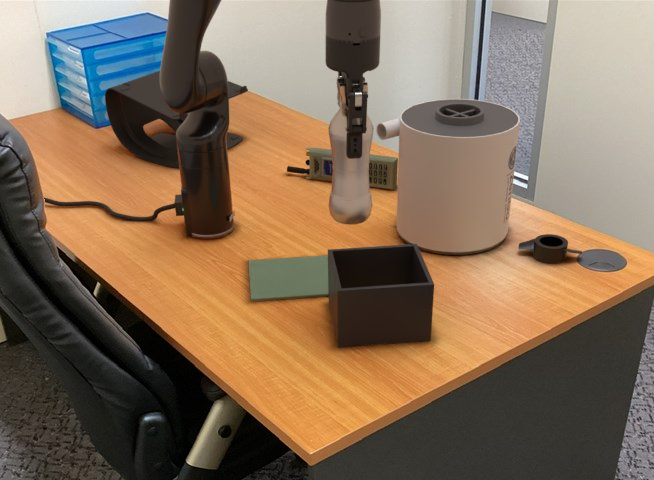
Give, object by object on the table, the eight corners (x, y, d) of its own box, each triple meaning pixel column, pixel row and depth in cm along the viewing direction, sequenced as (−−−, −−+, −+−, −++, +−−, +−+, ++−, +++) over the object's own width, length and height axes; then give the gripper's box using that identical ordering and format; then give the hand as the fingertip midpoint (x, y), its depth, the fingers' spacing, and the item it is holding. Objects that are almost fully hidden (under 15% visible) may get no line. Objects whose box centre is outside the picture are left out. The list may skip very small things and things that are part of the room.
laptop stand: (183, 121, 219) (176, 60, 211) (254, 138, 207) (249, 74, 199) (109, 152, 202) (99, 87, 194) (182, 172, 190) (174, 103, 182)
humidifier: (445, 268, 150) (454, 140, 137) (371, 228, 164) (373, 108, 151) (530, 235, 160) (546, 112, 147) (454, 199, 174) (462, 85, 161)
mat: (251, 301, 142) (250, 299, 142) (248, 262, 154) (248, 260, 153) (369, 293, 143) (369, 291, 143) (358, 255, 155) (358, 253, 154)
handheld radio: (393, 191, 178) (284, 177, 186) (397, 186, 181) (290, 172, 189) (394, 161, 175) (283, 147, 183) (399, 156, 177) (289, 143, 186)
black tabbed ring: (540, 240, 158) (542, 226, 156) (585, 258, 151) (588, 244, 150) (513, 253, 154) (515, 238, 152) (558, 272, 147) (561, 257, 146)
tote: (338, 347, 130) (337, 290, 124) (328, 303, 141) (327, 249, 135) (430, 340, 131) (434, 284, 125) (414, 297, 142) (416, 243, 136)
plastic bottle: (368, 231, 128) (372, 100, 117) (324, 227, 130) (324, 98, 118) (374, 213, 134) (379, 86, 122) (332, 210, 135) (332, 84, 123)
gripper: (320, 19, 121) (321, 132, 131) (331, 46, 109) (331, 168, 119) (372, 17, 122) (369, 130, 131) (388, 44, 110) (383, 166, 119)
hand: (351, 148), depth 125 cm, fingers closed on plastic bottle, 6 cm apart
